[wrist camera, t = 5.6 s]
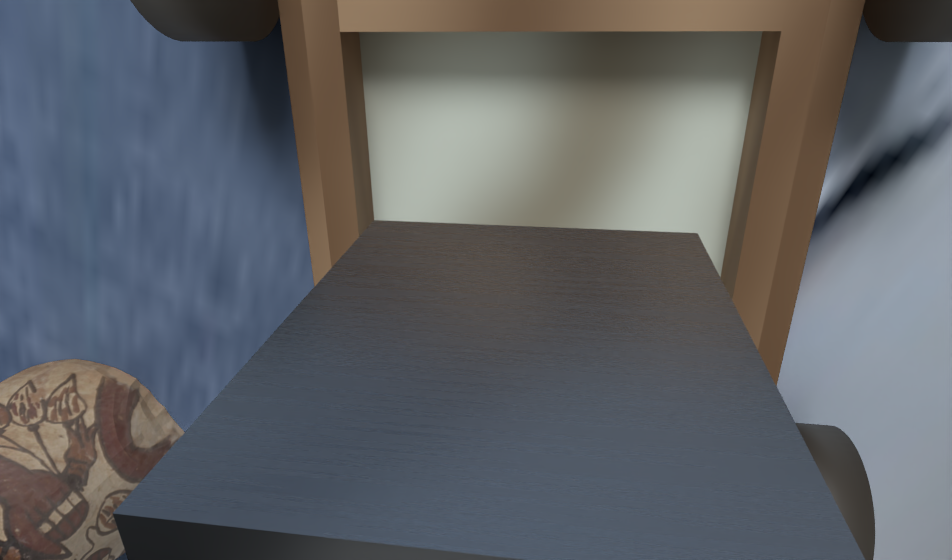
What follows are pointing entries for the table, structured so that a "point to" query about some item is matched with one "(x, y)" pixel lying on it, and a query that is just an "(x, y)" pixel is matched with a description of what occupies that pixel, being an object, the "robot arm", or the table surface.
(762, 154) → the chassis
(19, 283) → the table surface
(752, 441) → the block
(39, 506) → the figurine
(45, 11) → the table surface
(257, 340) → the table surface
